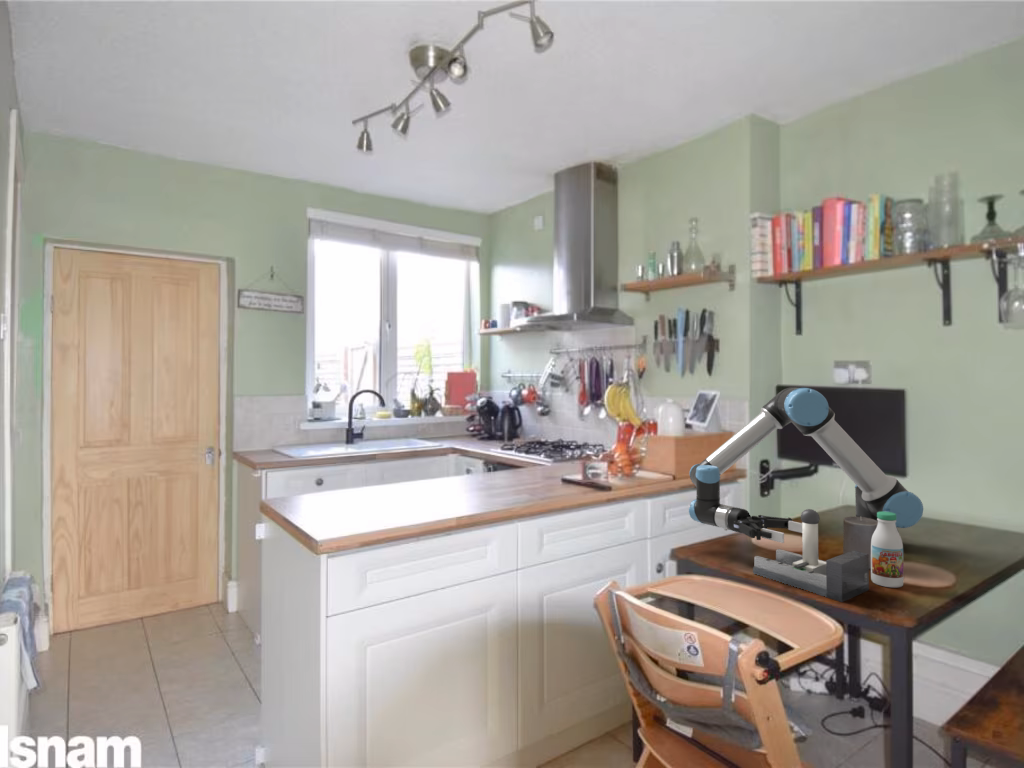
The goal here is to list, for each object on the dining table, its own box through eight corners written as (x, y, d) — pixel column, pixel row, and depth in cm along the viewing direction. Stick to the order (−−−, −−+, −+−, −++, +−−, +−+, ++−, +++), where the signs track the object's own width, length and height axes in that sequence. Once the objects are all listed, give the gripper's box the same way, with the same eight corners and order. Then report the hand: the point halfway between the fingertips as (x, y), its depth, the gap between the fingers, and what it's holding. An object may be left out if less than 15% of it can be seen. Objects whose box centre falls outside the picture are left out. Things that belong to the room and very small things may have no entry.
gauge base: (753, 573, 173) (752, 540, 173) (780, 564, 180) (780, 532, 180) (841, 602, 151) (841, 564, 151) (868, 590, 159) (868, 553, 158)
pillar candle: (837, 559, 184) (836, 512, 184) (868, 558, 184) (868, 511, 183) (854, 570, 174) (854, 521, 174) (887, 569, 174) (887, 520, 174)
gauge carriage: (786, 576, 164) (785, 511, 163) (808, 568, 170) (807, 505, 169) (806, 582, 159) (806, 515, 158) (828, 574, 165) (828, 509, 164)
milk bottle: (864, 579, 167) (864, 510, 166) (889, 577, 167) (889, 509, 167) (884, 589, 159) (883, 517, 159) (910, 587, 160) (910, 515, 159)
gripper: (756, 524, 193) (820, 539, 175) (708, 537, 179) (771, 555, 161) (756, 501, 192) (820, 514, 175) (708, 513, 179) (771, 528, 161)
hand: (797, 533), depth 168 cm, fingers open, 13 cm apart
